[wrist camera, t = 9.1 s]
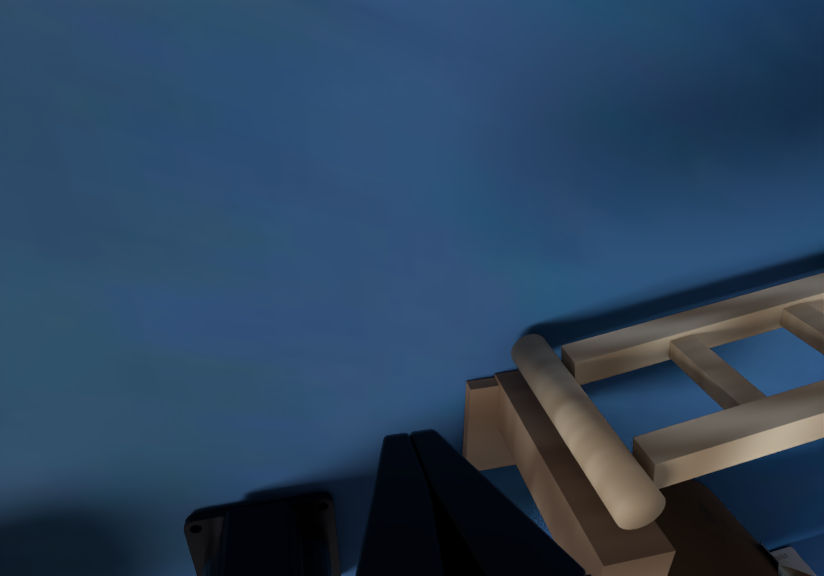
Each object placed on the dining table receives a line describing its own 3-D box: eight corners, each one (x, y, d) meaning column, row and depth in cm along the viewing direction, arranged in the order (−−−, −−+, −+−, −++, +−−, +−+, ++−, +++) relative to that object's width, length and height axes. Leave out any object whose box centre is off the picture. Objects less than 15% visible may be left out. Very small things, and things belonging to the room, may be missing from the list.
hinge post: (558, 447, 28) (675, 639, 20) (461, 463, 27) (543, 672, 19) (572, 362, 25) (713, 542, 17) (466, 377, 25) (563, 575, 16)
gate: (512, 369, 24) (615, 535, 17) (509, 339, 23) (616, 501, 16) (855, 273, 26) (1081, 386, 19) (863, 242, 25) (1103, 348, 18)
